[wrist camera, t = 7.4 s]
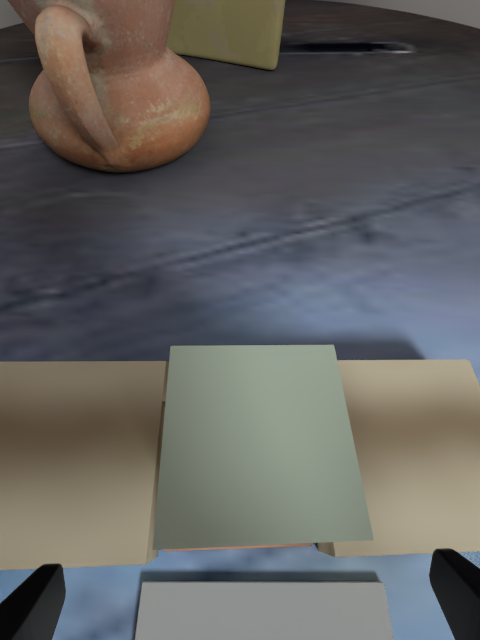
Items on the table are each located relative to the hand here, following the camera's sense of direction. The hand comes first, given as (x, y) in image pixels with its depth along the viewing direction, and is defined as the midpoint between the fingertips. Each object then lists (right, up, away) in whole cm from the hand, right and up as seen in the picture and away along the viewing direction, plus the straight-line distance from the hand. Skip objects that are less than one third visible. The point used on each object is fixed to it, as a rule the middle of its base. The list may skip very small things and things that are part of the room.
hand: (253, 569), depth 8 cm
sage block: (0, -2, +8) cm, 8 cm away
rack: (0, -2, +8) cm, 8 cm away
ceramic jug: (-10, +22, +22) cm, 33 cm away
